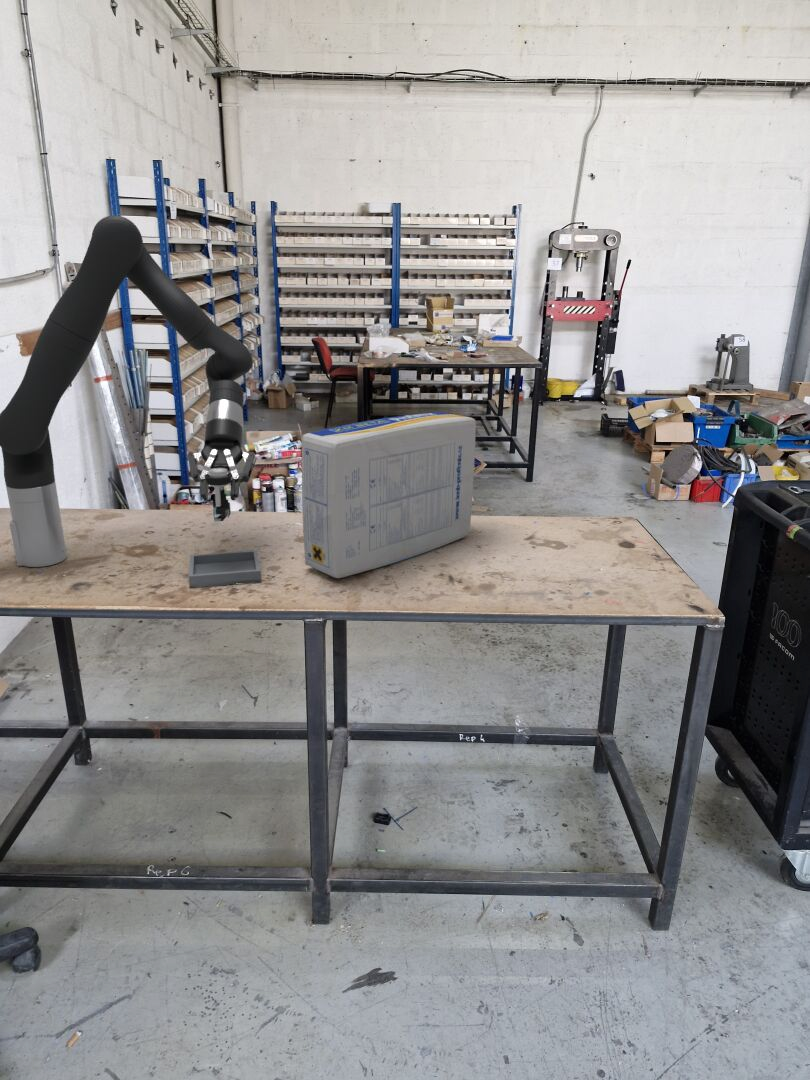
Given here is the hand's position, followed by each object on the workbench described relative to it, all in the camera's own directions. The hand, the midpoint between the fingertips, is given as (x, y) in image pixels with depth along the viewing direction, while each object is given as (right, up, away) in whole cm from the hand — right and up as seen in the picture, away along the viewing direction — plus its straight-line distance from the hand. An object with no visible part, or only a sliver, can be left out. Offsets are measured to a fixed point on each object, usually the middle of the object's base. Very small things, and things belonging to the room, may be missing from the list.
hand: (218, 498), depth 142 cm
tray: (0, -15, +6) cm, 17 cm away
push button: (0, -4, +2) cm, 5 cm away
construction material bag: (+34, -12, +20) cm, 41 cm away
